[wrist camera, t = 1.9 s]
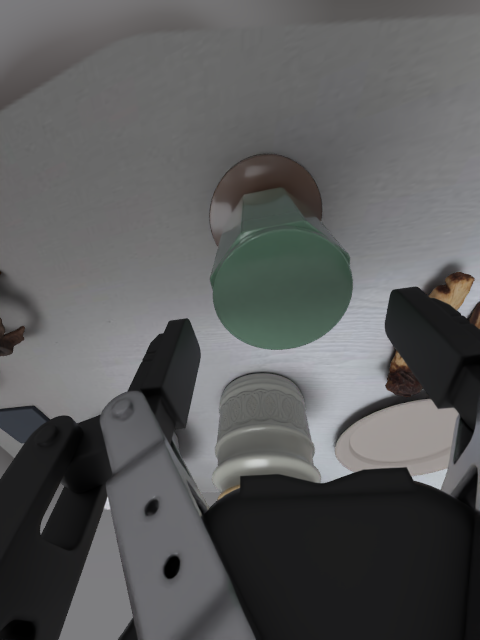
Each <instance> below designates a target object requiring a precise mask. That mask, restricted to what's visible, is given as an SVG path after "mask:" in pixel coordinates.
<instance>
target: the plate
mask: <svg viewBox="0 0 480 640" xmlns="http://www.w3.org/2000/svg"><path fill="white" fill-rule="evenodd" d="M458 414H459V413H458V412H457V411H456V409H455V408H445V409H438V408H437V407H436V406H435V404H434V403H433V401H432V400H431V399H423V400H417V401H411V402H406V403H402V404H398V405H394V406H391V407H388V408H385V409H382V410H380V411H377V412H375V413H372V414H370V415H368V416H366V417H364V418H362V419H361V420H359V421H357V422H356V423H354V424H353V425H351V426H350V427H349V428H348V429H347V430H346V431H345V432H344V433H343V434H342V435H341V436H340V438H339V439H338V441H337V443H336V445H335V455H336V458H337V459H338V461H339V462H340V463H341V464H342V465H343V466H344V467H346V468H347V469H349V470H351V471H353V472H358V471H360V470H363V469H381V468H400V467H407V469H408V471H409V473H410V475H411V476H417V475H423V474H428V473H432V472H436V471H440V470H443V469H447V468H448V464H449V458H450V452H451V446H452V440H453V434H454V428H455V422H456V418H457V416H458Z"/></svg>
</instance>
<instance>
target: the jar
mask: <svg viewBox="0 0 480 640" xmlns="http://www.w3.org/2000/svg"><path fill="white" fill-rule="evenodd" d="M219 414H220V417H219V427H218V437H217V444H216V447H215V455H216V457H217V459H218V467H217V468H216V469H215V470H214V472H213V474H212V482H213V485H214V486H215V488H216V489H217V490H218V491H219V492H220V493H221V494H220V495H219V497H218V499H217V500H219V499H220V498H222V497H223V496H224V495H226V494H228V493H230V492H232V491H233V490H236V489H238V488H240V476H250V475H268V474H281V475H285V476H290V477H294V478H298V479H303V480H307V481H311V482H315V483H320V482H321V475H320V472H319V471H318V469H317V468H316V467H315V466H314V464H313V456H314V453H315V448H314V444H313V442H312V440H311V435H310V431H309V426H308V421H307V417H306V406H305V401H304V398H303V396H302V394H301V392H300V390H299V388H298V387H297V386H296V385H295V384H294V383H293V382H292V381H290V380H289V379H287V378H284V377H282V376H279V375H274V374H267V373H258V374H250V375H246V376H243V377H240V378H238V379H236V380H234V381H233V382H231V383H230V384H229V385H228V386H227V387H226V388H225V390H224V392H223V395H222V397H221V400H220V406H219Z"/></svg>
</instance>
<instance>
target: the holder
mask: <svg viewBox="0 0 480 640" xmlns="http://www.w3.org/2000/svg"><path fill="white" fill-rule="evenodd" d="M279 187H282V188H284V189H286V190H287V191H288V192H289V193H291V194H292V195H293V196H294V197H295V198H297V199H298V200H299V201H300V202H301V203H303V204H304V205H305V206H306V207H308V208H309V209H310V210H311V211H312V212H313V213H314V215H315V216H316V217H317V218H318V219H319V220H320V222H321V218H322V202H321V197H320V193H319V190H318V187H317V185H316V183H315V181H314V179H313V178H312V177H311V175H310V174H309V173H308V172H307V171H306V170H305V168H304V167H302V166H301V165H300V164H298V163H297V162H295V161H293V160H291V159H289V158H287V157H284V156H281V155H277V154H259V155H254V156H251V157H248V158H246V159H244V160H242V161H240V162H239V163H237V164H236V165H234V166H233V167H232V168H231V169H230V170H229V171H228V172H227V173H226V174H225V175H224V176H223V178H222V179H221V181H220V182H219V184H218V186H217V188H216V190H215V192H214V195H213V198H212V201H211V206H210V216H209V217H210V227H211V232H212V235H213V238H214V240H215V242H216V244H217V246H219V242H220V238H221V235H222V231H223V227H224V225H225V224H226V222H227V220H228V219H229V217H230V216H231V214H232V212H233V211H234V209H235V208H236V206H237V204H238V203H239V201H240V200H241V198H242V196H243V195H245V194H250V193H254V192H259V191H264V190H269V189H274V188H279Z"/></svg>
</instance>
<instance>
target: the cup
mask: <svg viewBox="0 0 480 640" xmlns="http://www.w3.org/2000/svg"><path fill="white" fill-rule="evenodd" d="M210 282H211V286H212V289H213V302H214V307H215V310H216V313H217V316H218V317H219V319H220V321H221V323H222V324H223V325H224V327H225V328H226V329H227V330H228V331H229V332H230V333H231V334H232V335H234V336H235V337H236V338H238V339H239V340H241V341H243V342H245V343H247V344H249V345H252V346H255V347H259V348H263V349H271V350H283V349H291V348H296V347H300V346H303V345H306V344H308V343H311V342H313V341H315V340H317V339H319V338H320V337H322V336H323V335H325V334H326V333H327V332H329V331H330V330H331V329H332V328H333V327H334V326H335V325H336V324H337V323H338V322H339V321H340V319H341V318H342V316H343V315H344V313H345V312H346V310H347V308H348V305H349V303H350V300H351V296H352V290H353V278H352V272H351V269H350V256H349V254H348V253H347V252H346V251H345V249H344V248H343V247H342V246H341V245H340V244H339V242H338V241H337V240H336V239H335V238H334V237H333V235H332V234H331V233H330V232H329V231H328V230H327V229H326V227H325V226H324V225H323V224H322V223H321V222H320V220H319V219H318V218H317V217H316V216H315V215H314V213H313V212H312V211H311V210H310V209H309V208H308V207H306V206H305V205H304V204H303V203H301V202H300V201H299V200H298V199H297V198H295V197H294V196H293V195H292V194H291V193H289V192H288V191H287V190H286V189H284V188H282V187H279V188H274V189H269V190H264V191H259V192H254V193H250V194H245V195H243V196H242V198H241V200H240V201H239V203H238V204H237V206H236V208H235V209H234V211H233V212H232V214H231V216H230V217H229V219H228V220H227V222H226V224H225V225H224V227H223V231H222V235H221V238H220V242H219V246H218V250H217V253H216V257H215V261H214V265H213V268H212V272H211V276H210Z"/></svg>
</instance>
